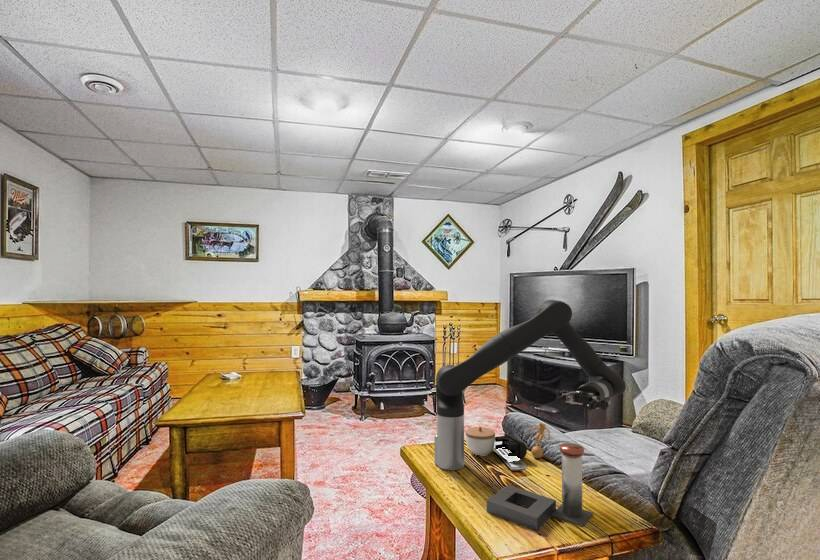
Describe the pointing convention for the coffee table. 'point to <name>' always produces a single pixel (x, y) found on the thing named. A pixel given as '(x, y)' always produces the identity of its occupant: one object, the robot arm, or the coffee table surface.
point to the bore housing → (530, 517)
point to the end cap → (512, 445)
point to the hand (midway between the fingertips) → (574, 403)
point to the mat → (577, 521)
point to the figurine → (537, 450)
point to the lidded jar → (480, 440)
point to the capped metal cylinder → (572, 479)
